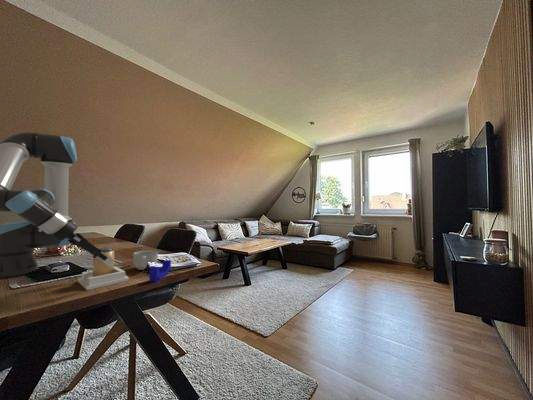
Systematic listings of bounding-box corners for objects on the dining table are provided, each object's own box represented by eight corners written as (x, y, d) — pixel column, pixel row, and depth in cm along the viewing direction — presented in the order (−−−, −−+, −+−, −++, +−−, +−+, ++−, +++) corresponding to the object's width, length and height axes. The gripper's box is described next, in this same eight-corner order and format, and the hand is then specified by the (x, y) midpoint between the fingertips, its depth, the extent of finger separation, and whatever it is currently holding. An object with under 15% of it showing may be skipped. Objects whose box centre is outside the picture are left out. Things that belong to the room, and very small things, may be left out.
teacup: (138, 265, 116) (138, 250, 116) (160, 265, 118) (160, 249, 118) (126, 274, 102) (126, 256, 102) (151, 273, 104) (152, 255, 104)
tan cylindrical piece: (90, 278, 92) (91, 249, 92) (110, 274, 98) (111, 246, 98) (95, 282, 88) (96, 251, 88) (116, 277, 93) (116, 248, 93)
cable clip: (161, 273, 104) (161, 260, 105) (170, 273, 104) (170, 260, 104) (145, 282, 93) (146, 267, 93) (156, 282, 92) (156, 267, 92)
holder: (77, 281, 92) (78, 272, 92) (117, 273, 102) (117, 265, 103) (86, 290, 83) (87, 280, 83) (128, 280, 94) (129, 271, 94)
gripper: (43, 231, 88) (90, 262, 99) (54, 239, 72) (108, 274, 83) (62, 217, 92) (104, 249, 103) (76, 221, 76) (125, 258, 88)
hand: (106, 260), depth 93 cm, fingers open, 13 cm apart
